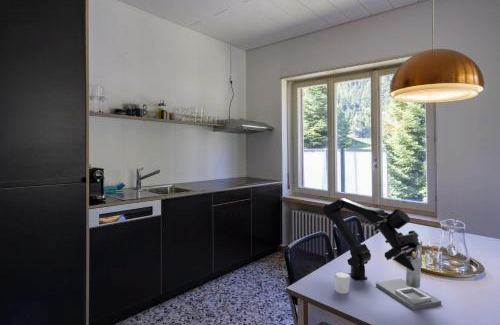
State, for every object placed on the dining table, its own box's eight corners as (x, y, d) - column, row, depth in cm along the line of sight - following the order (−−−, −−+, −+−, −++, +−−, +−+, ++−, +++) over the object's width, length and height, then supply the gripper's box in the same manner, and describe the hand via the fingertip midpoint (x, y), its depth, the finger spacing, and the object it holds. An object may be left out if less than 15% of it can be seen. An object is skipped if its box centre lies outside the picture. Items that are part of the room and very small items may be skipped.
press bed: (375, 285, 127) (376, 280, 127) (400, 281, 132) (401, 276, 131) (413, 310, 108) (413, 303, 108) (441, 304, 112) (441, 298, 112)
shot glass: (346, 286, 127) (347, 271, 127) (352, 294, 120) (353, 278, 120) (331, 286, 127) (331, 271, 126) (336, 294, 120) (337, 278, 120)
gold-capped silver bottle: (404, 285, 115) (406, 252, 114) (407, 280, 119) (408, 249, 118) (418, 289, 112) (420, 255, 111) (420, 284, 116) (422, 252, 115)
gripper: (392, 228, 112) (421, 265, 104) (416, 221, 123) (443, 254, 114) (373, 242, 119) (399, 278, 111) (397, 234, 130) (422, 266, 121)
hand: (417, 268), depth 114 cm, fingers closed on gold-capped silver bottle, 5 cm apart
